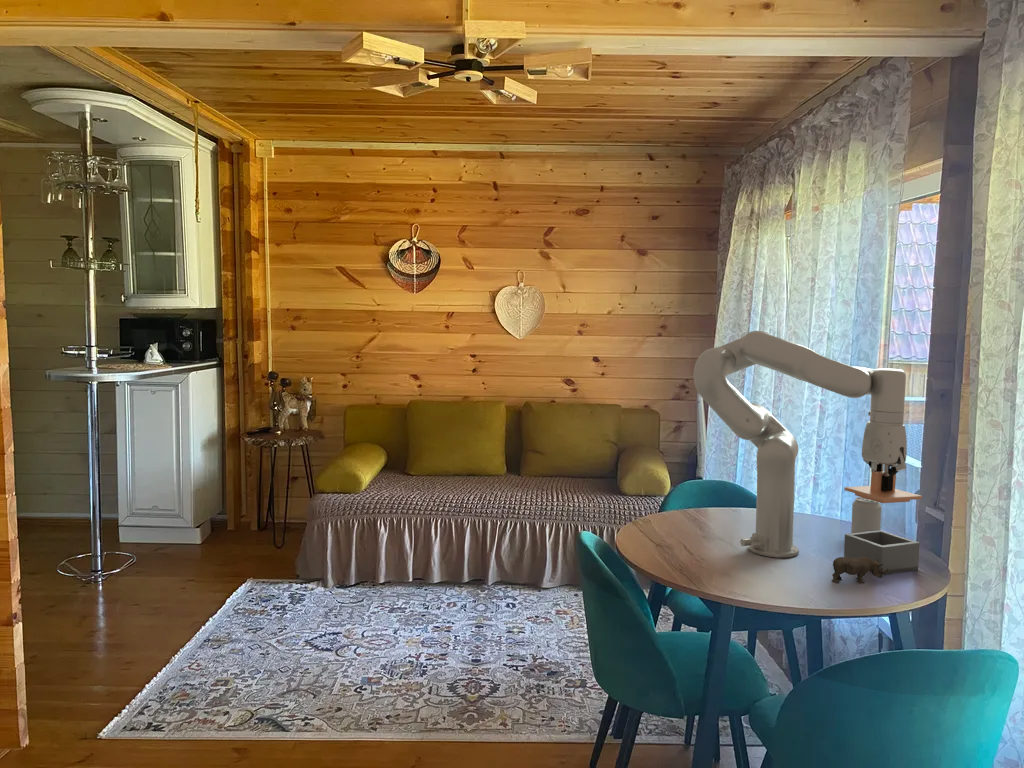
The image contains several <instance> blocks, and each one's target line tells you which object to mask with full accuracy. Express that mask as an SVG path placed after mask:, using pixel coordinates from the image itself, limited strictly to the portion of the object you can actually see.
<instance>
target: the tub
mask: <svg viewBox="0 0 1024 768" xmlns="http://www.w3.org/2000/svg"><path fill="white" fill-rule="evenodd" d="M843 547H844V549H843V557H849V558H853V559H856V558H861V557H867V558H870V559H871V560H873V561H875V560H876V559H878V562H877V563H878V564H882V563H883V565H882V566H879V568H883V570H882V571H884V570H886V569H887V568H888V571H887V572H886V573H885V574H884V575H883V576H886V575H893V574H901V573H907V572H914V571H919V563H920V561H919V560H920V542H919V541H915V540H912V539H909V538H906V537H904V536H900V535H898V534H894V533H891V532H888V531H885V530H881V529H880V530H876V531H868V532H859V533H851V532H850V533H845V534H844V546H843Z"/></svg>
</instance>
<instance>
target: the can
mask: <svg viewBox="0 0 1024 768" xmlns="http://www.w3.org/2000/svg"><path fill="white" fill-rule="evenodd" d="M851 507H852V508H851V527H850V528H851V530H850V531H851V532H850V534H851V533H859V532H868V531H876V530H881V524H882V504H881V503H880V502H876V501H873V500H870V499H866V498H863V497H859V496H856V497H855V498H854V501H853V502H852V506H851Z"/></svg>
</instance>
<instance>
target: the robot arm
mask: <svg viewBox="0 0 1024 768" xmlns="http://www.w3.org/2000/svg"><path fill="white" fill-rule="evenodd" d="M755 365H759V366H761V367H764V368H767V369H769V370H770V369H771V370H773V371H776V372H778V373H782V374H783V375H786V376H789V377H791V378H795V379H797V380H799V381H802V382H806V383H809V384H811V385H813V386H816V387H819V388H822V389H823V390H824V389H825V390H827V391H829V392H833V393H835V394H838V395H840V396H844V397H847V398H852V399H859V398H862V397H864V396H867V395H870V410H869V411H868V417H869V420H868V421H866V425H865V428H864V431H863V432H864V433H863V437H862V438H863V439H862V445H861V457H862V460H863V462H865V463H866V464H867V465H868V466H869V469H870V472H871V473H872V472H873V471H884V475H885V476H882V486H881V491H883V492H888V491H892V490H893V476H895V475H896V476H897V474H898V472H900V471H904V470H906V469H907V466H906V461H907V450H908V444H907V440H908V439H907V431H906V425H904V419H905V403H906V402H905V399H906V384H907V381H906V380H907V375H906V371H904V370H903V369H900V368H899V369H898V368H877V369H876V368H868V367H862V366H852V365H849V364H845V363H843V362H840V361H838V360H835V359H831V358H828V357H826V356H824V355H822V354H820V353H817V352H816V351H814V350H813V349H811V348H809V347H807V346H804V345H802V344H798V343H795V342H792V341H790V340H786V339H784V338H781V337H778V336H775V335H772V334H769V333H768V332H766V331H762V330H752V331H749V332H747V333H746V334H745V335H744V336H742V337H741V338H738V339H735V340H733V341H730V342H728V343H725V344H723V345H720V346H717V347H710V348H707V349H705V350H703V352H701V354H699V356H698V357H697V359H696V361H695V365H694V368H693V381H694V386H695V388H696V391H697V393H698V394H699V395H700V397H701V399H702V400H704V402H705V403H706V404H707V405H708V407H710V408H711V410H712V411H713V412H714V413H715V414H716V415H717V416H718V417H719V418H720V419H721V420H722V421H723V422H724V423H725V424H726V426H727V427H728V428H729V429H730V430H731V431H732V432H733V434H734V435H736V436H737V437H738V438H739V439H741V440H744V441H750V442H751V443H752V444H753V446H755V447H756V448H757V452H756V507H755V508H756V509H755V510H756V512H755V532H754V533H753V532H752V534H751V537H750V538H741V539H740V541H739V542H740V545H741V547H746V546H749V547H748V549H749V550H750V551H751V552H752V553H754V554H757V555H758V556H759V555H760V556H764V557H770V558H777V559H778V558H782V559H783V558H785V559H786V558H787V559H788V558H793V557H796V556H798V555H799V551H800V550H799V548H798V546H796V545H794V544H793V543H794V542H793V540H794V519H795V517H794V513H795V488H796V487H795V485H796V483H795V481H796V478H795V474H796V473H795V472H796V459H797V456H798V454H799V444H798V441H797V439H796V437H795V436H794V435H793V434H792V433H791V432H790V431H789V430H788V429H787V428H786V427H785V426H784V425H783V424H782V423H781V422H780V421H779V420H778V419H777V418H776V417H775V416H774V415H773V414H772V413H771V411H769V410H768V409H767V408H765V407H764V406H762V405H761V404H759V403H755V402H750V401H749V400H748V399H747V398H746V397H745V396H744V395H743V394H742V393H741V392H740V391H739V390H738V389H737V388H736V387H735V386H734V385H733V384H732V383H730V381H729V380H728V379H727V376H729V375H731V374H734V373H736V372H739V371H741V370H744V369H746V368H747V369H748V368H750V367H752V366H755Z"/></svg>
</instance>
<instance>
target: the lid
mask: <svg viewBox="0 0 1024 768" xmlns="http://www.w3.org/2000/svg"><path fill="white" fill-rule="evenodd" d="M870 476H871V478H870V485H861V486H860V485H859V486H858V485H857V486H845V487H844V488H843V489H844V491H846V492H849V493H853V494H854V496H856V497H863V498H866V499H870V500H873V501H876V502H879V504H893V503H894V504H895V503H909V502H910V501H911V500H922V499H923V496H922V495H920V494H916V493H912V492H909V491H905V490H902V489H897V488H896V482H897V474H896V475H895V476H893V490H892V491H888V492H883V491H881V486H882V476H885V475H884V470H883V471H873V472H871V475H870Z"/></svg>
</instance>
